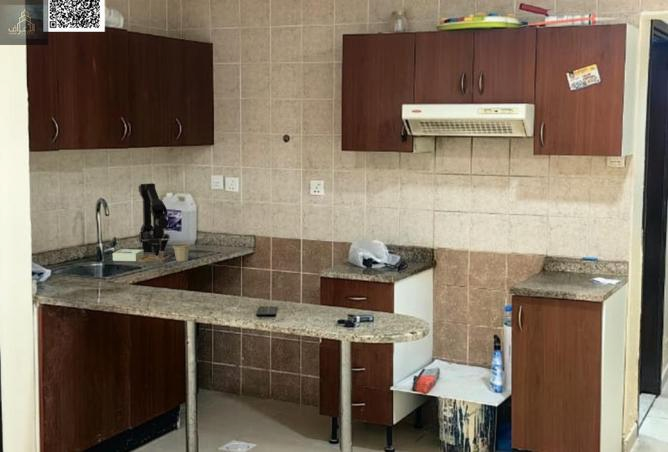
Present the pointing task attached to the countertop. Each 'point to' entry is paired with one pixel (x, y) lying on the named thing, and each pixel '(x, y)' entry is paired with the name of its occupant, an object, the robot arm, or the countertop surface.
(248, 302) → the countertop surface
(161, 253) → the pebble
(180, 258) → the flower pot
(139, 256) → the bin
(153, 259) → the tray
